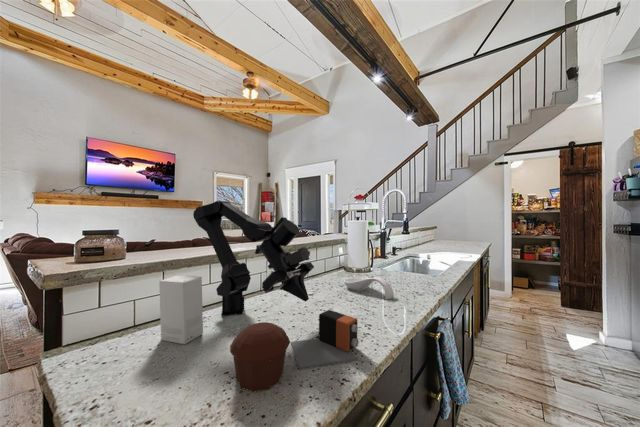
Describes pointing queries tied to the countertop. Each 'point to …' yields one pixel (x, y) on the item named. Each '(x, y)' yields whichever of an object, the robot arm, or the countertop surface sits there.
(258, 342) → the muffin
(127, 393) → the countertop surface
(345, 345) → the battery
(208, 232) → the robot arm
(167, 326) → the skincare box
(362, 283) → the spoon rest
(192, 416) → the countertop surface
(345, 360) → the rubber mat
